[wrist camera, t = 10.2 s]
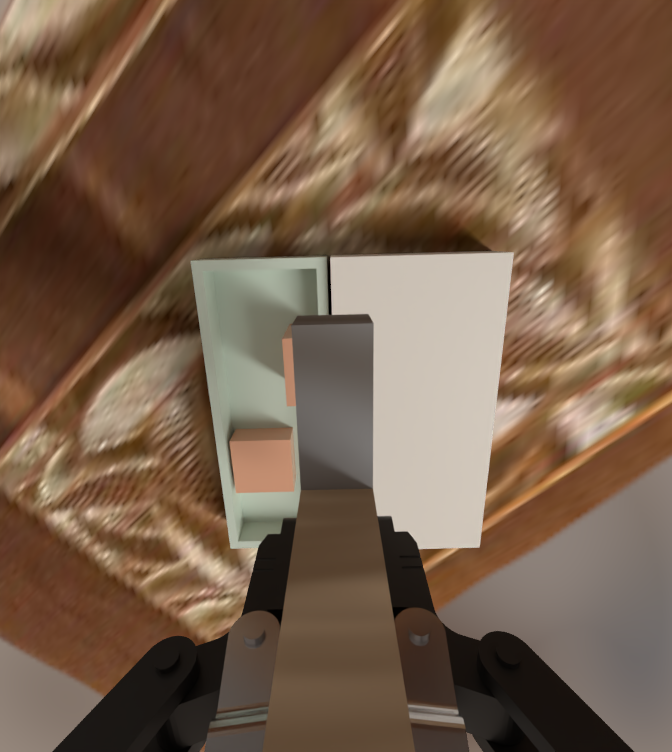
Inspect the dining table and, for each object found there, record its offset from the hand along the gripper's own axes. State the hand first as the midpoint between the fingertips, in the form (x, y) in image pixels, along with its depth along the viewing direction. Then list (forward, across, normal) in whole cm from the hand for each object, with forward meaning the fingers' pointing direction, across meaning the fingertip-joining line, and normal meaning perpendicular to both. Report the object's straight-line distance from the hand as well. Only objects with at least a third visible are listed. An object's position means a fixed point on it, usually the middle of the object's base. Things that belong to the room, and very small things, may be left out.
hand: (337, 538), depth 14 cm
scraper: (+3, 0, 0) cm, 3 cm away
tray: (+14, +4, +1) cm, 15 cm away
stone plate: (+14, -5, +1) cm, 15 cm away
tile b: (+12, +5, +5) cm, 14 cm away
